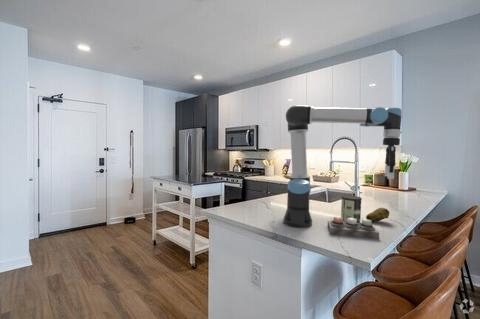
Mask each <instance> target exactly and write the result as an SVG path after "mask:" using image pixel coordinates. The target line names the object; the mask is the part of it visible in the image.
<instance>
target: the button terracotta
mask: <svg viewBox="0 0 480 319" xmlns="http://www.w3.org/2000/svg"><path fill="white" fill-rule="evenodd" d="M332 217H333V219H332V220H333V222H335V223H342V219H343V218H341V216H332Z"/></svg>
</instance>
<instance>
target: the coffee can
mask: <svg viewBox="0 0 480 319" xmlns="http://www.w3.org/2000/svg"><path fill="white" fill-rule="evenodd" d="M362 200H363V199H362V197H361V196H356V195H346V194H345V195H341V210H340V211H341V212H340V213H341V214H340V217H341V218H343V219H342V221H343V222H347V218H355V219H357V223H361V219H362V218H361V215H362V214H361V213H362Z"/></svg>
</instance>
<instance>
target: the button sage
mask: <svg viewBox="0 0 480 319" xmlns="http://www.w3.org/2000/svg"><path fill="white" fill-rule="evenodd" d="M361 223H362V225H366V226H371V224H372V222H371V220H368V219H366V218H361Z"/></svg>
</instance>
